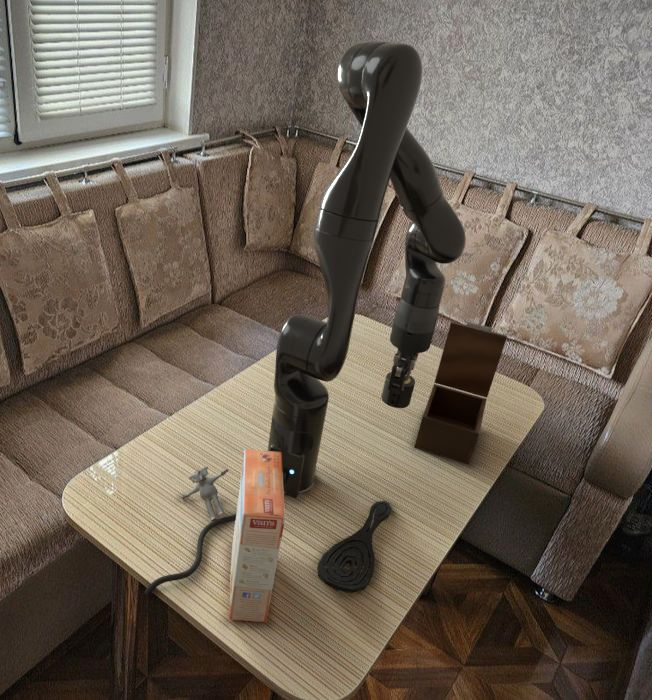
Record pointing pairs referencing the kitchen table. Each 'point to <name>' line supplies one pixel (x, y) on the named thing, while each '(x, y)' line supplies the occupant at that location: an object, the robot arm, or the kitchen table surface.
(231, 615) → the cracker box
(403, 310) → the robot arm
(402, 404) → the dark grey short cylinder
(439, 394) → the box
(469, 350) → the lid
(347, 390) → the kitchen table surface
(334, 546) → the hairbrush
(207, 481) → the elephant figurine
